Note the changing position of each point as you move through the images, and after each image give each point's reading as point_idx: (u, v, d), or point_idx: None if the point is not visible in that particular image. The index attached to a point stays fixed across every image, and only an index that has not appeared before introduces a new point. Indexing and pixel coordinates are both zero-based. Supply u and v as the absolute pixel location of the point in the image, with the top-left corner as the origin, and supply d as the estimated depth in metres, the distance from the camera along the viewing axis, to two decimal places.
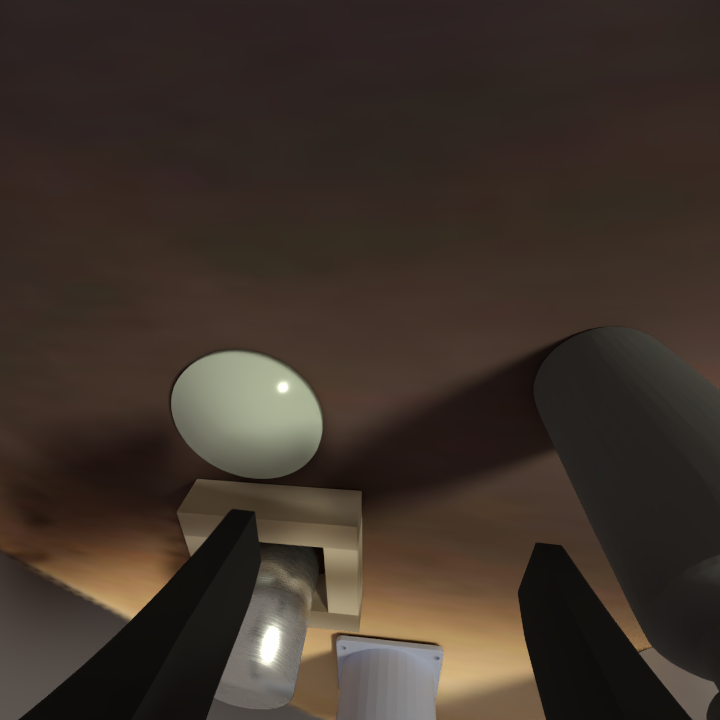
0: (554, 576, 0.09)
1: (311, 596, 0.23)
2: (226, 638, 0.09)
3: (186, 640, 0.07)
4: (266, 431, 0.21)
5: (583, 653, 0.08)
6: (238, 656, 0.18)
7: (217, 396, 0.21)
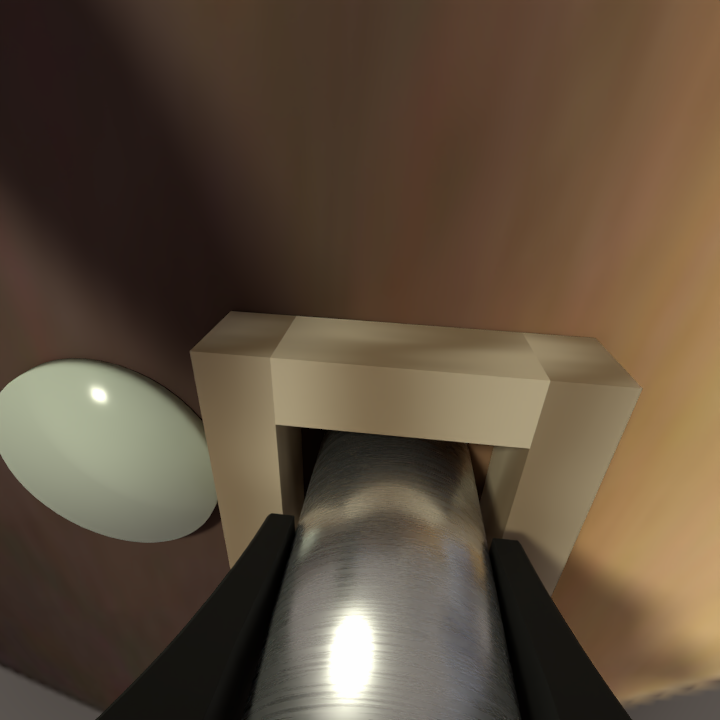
0: (506, 570, 0.09)
1: (383, 488, 0.09)
2: None
3: (240, 648, 0.07)
4: (114, 445, 0.14)
5: (526, 646, 0.08)
6: None
7: (76, 487, 0.15)
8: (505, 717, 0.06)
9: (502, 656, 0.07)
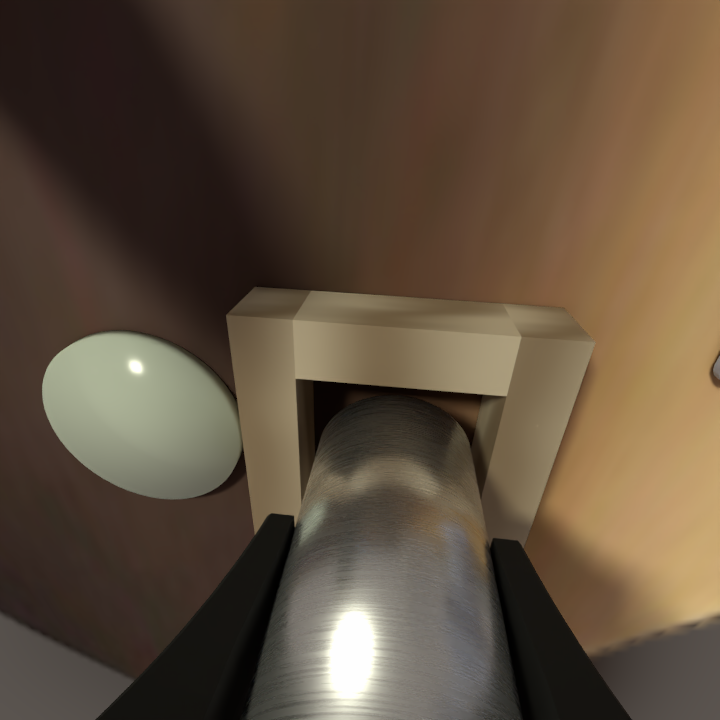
0: (506, 570, 0.09)
1: (383, 487, 0.09)
2: None
3: (240, 648, 0.07)
4: (149, 407, 0.16)
5: (526, 646, 0.08)
6: None
7: (113, 447, 0.17)
8: None
9: (504, 660, 0.07)
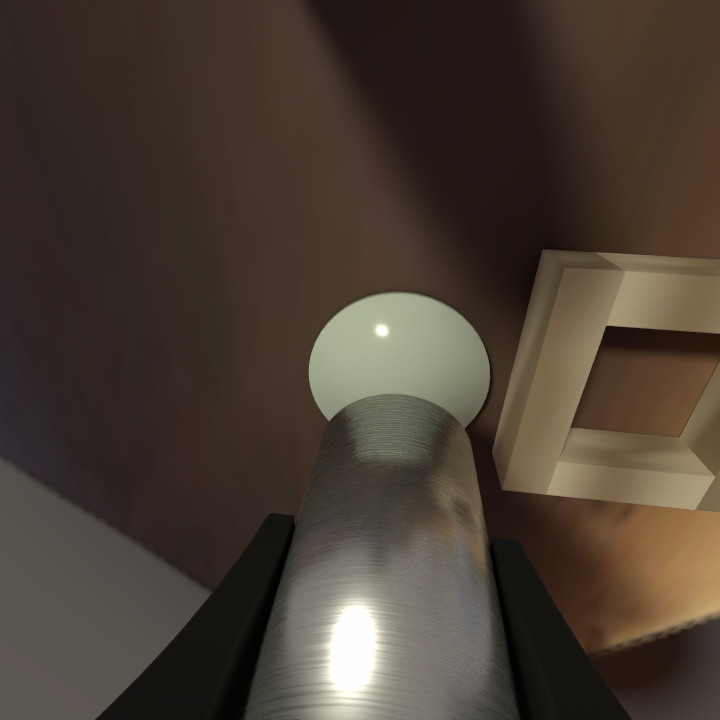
0: (506, 570, 0.09)
1: (385, 484, 0.09)
2: None
3: (240, 648, 0.07)
4: (412, 361, 0.18)
5: (526, 646, 0.08)
6: None
7: None
8: (505, 719, 0.06)
9: (503, 656, 0.07)
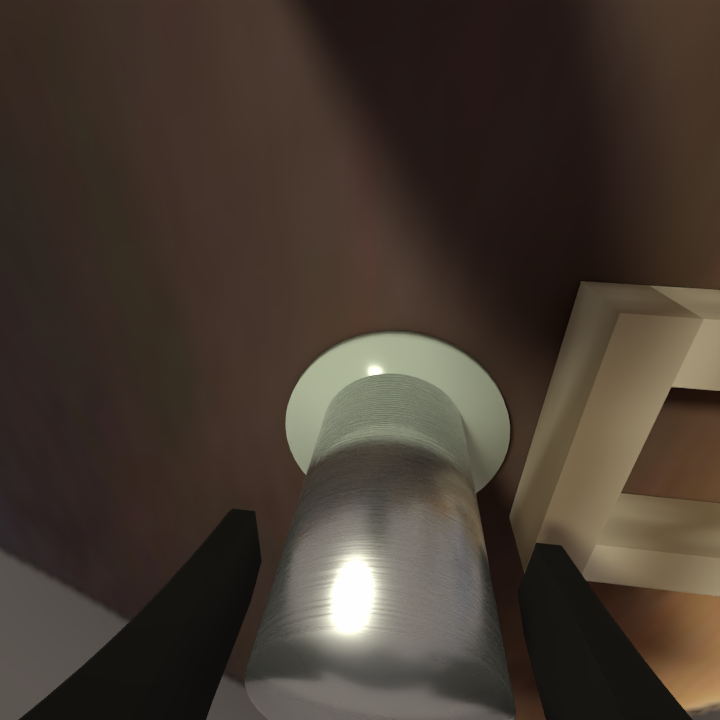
0: (554, 576, 0.09)
1: (383, 447, 0.10)
2: (226, 638, 0.09)
3: (186, 640, 0.07)
4: None
5: (583, 653, 0.08)
6: (245, 677, 0.08)
7: None
8: (487, 631, 0.07)
9: (487, 587, 0.08)
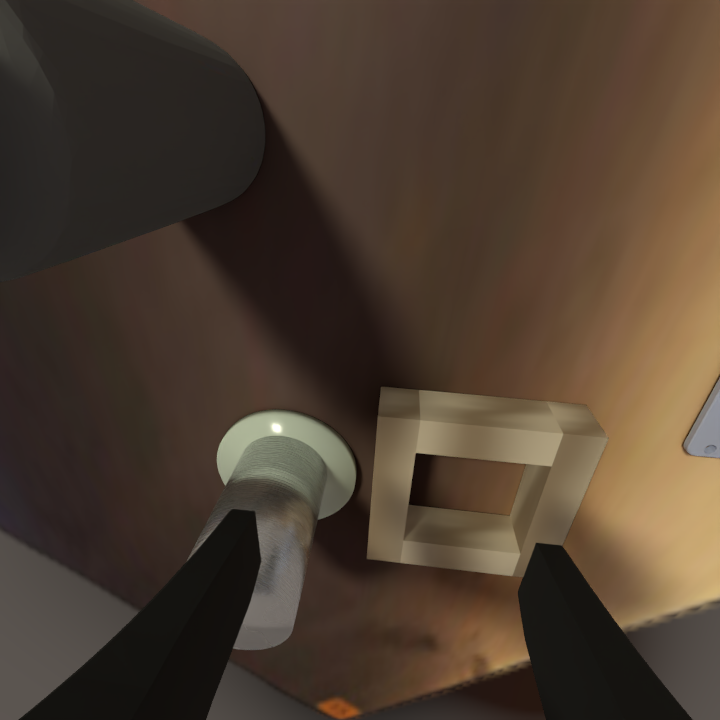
0: (554, 576, 0.09)
1: (254, 486, 0.19)
2: (226, 638, 0.09)
3: (186, 640, 0.07)
4: None
5: (583, 653, 0.08)
6: None
7: None
8: (279, 578, 0.16)
9: (291, 560, 0.17)
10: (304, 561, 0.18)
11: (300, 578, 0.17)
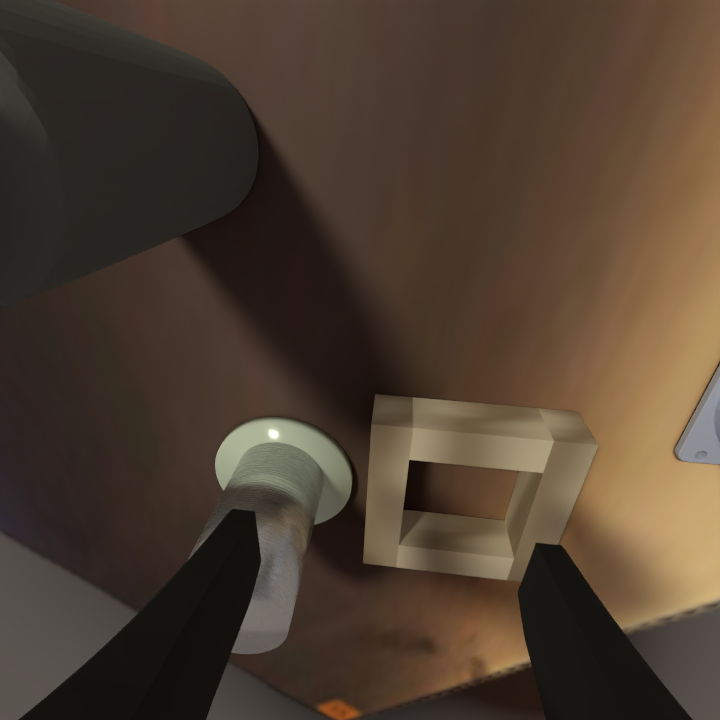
0: (554, 576, 0.09)
1: (250, 492, 0.19)
2: (226, 638, 0.09)
3: (186, 640, 0.07)
4: None
5: (583, 653, 0.08)
6: None
7: None
8: (274, 583, 0.16)
9: (286, 565, 0.17)
10: (299, 566, 0.18)
11: (295, 583, 0.17)
